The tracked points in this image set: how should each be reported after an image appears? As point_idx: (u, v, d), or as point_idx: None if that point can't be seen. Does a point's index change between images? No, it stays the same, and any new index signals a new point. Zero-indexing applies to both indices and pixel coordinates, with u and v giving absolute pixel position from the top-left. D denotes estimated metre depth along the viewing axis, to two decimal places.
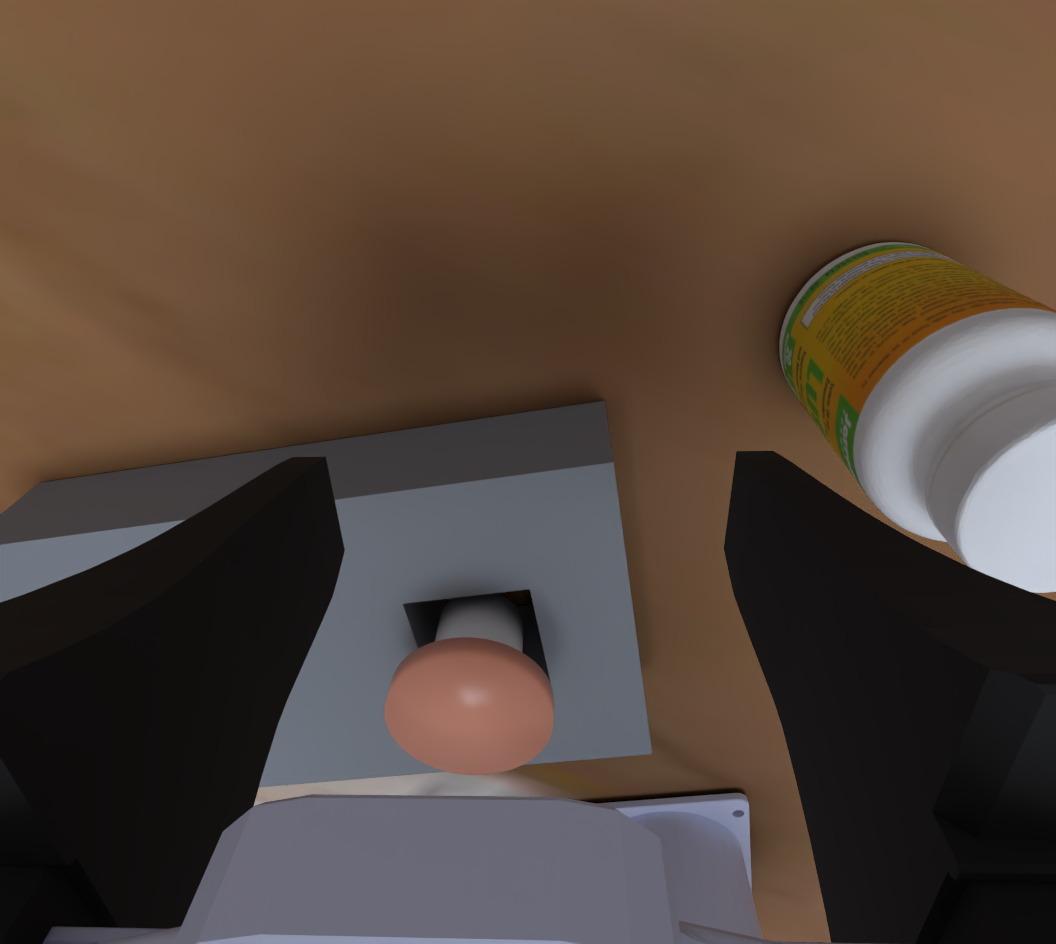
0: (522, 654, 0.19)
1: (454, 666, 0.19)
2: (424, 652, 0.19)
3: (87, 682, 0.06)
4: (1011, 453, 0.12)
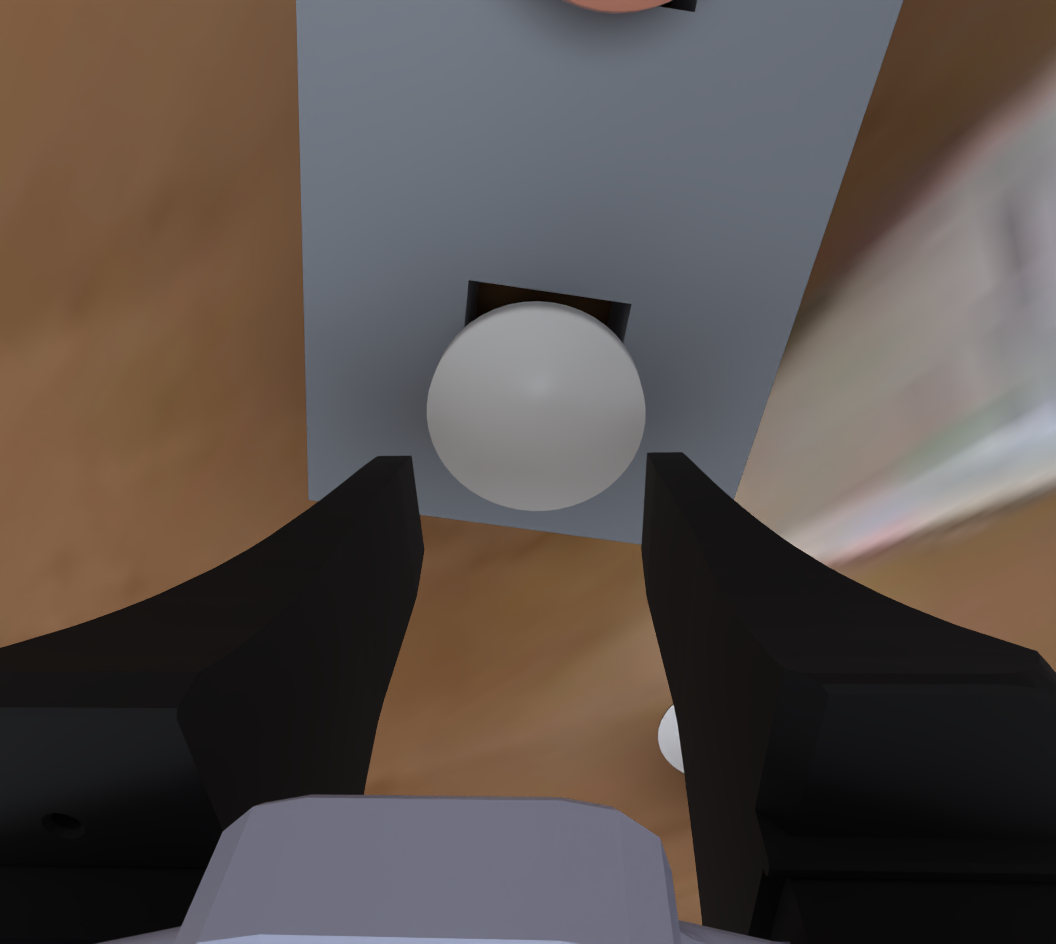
0: None
1: None
2: None
3: (250, 683, 0.06)
4: None
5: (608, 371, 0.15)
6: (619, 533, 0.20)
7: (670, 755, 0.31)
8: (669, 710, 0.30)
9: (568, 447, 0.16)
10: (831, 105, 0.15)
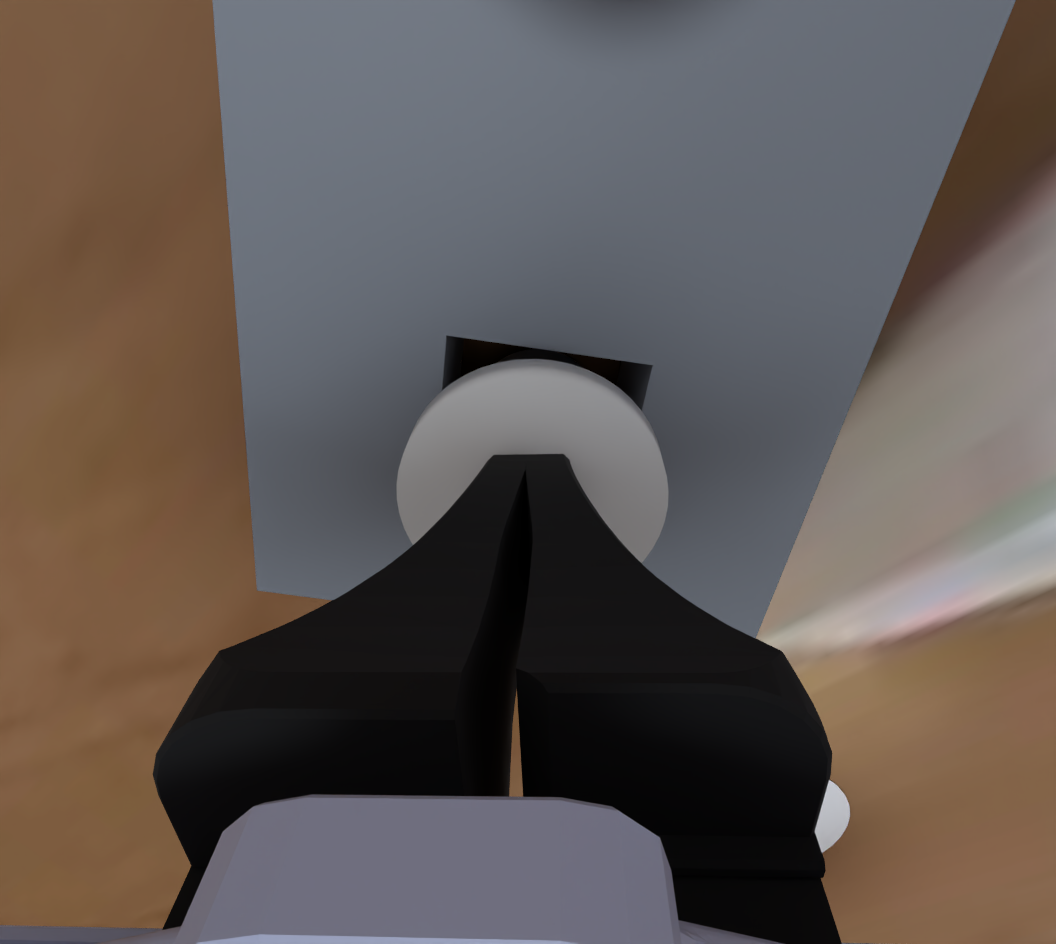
0: None
1: None
2: None
3: (474, 684, 0.06)
4: None
5: (622, 447, 0.12)
6: None
7: None
8: None
9: None
10: (920, 116, 0.11)
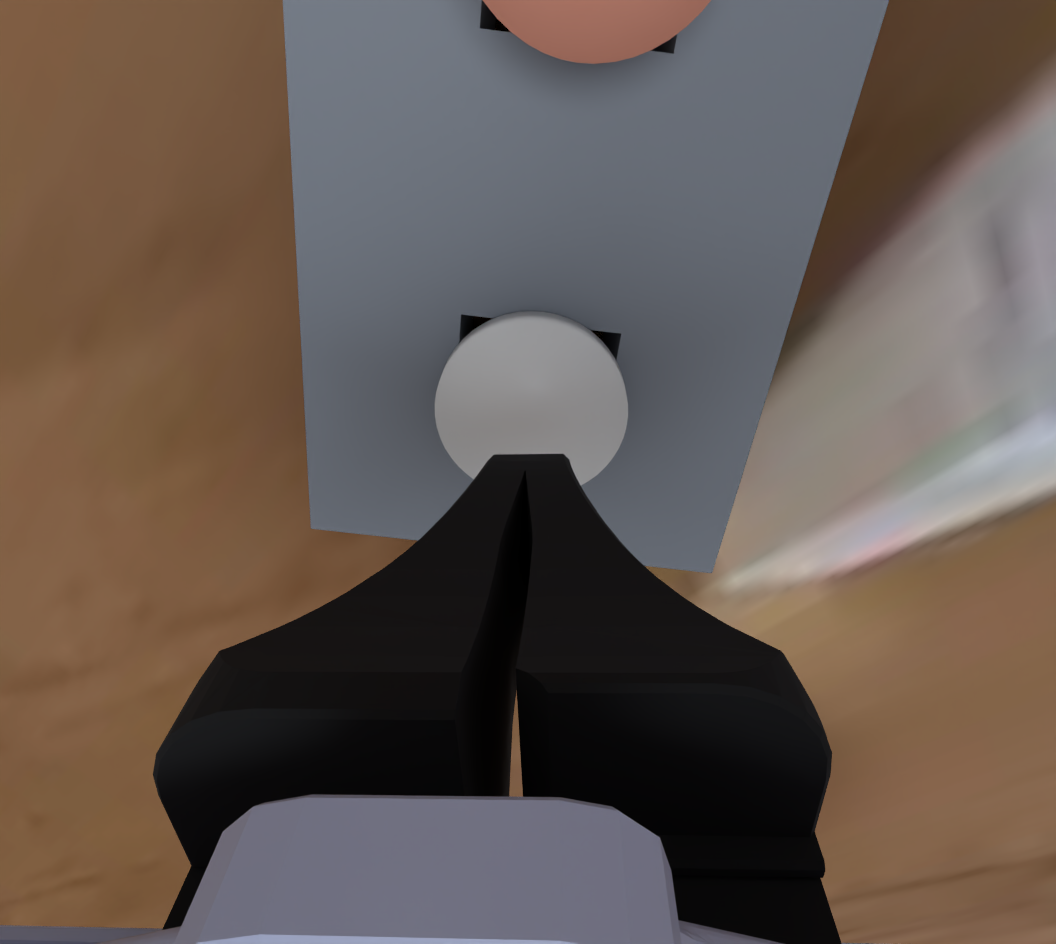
0: None
1: None
2: None
3: (474, 683, 0.06)
4: None
5: (593, 371, 0.17)
6: None
7: None
8: None
9: (560, 439, 0.18)
10: (811, 139, 0.15)
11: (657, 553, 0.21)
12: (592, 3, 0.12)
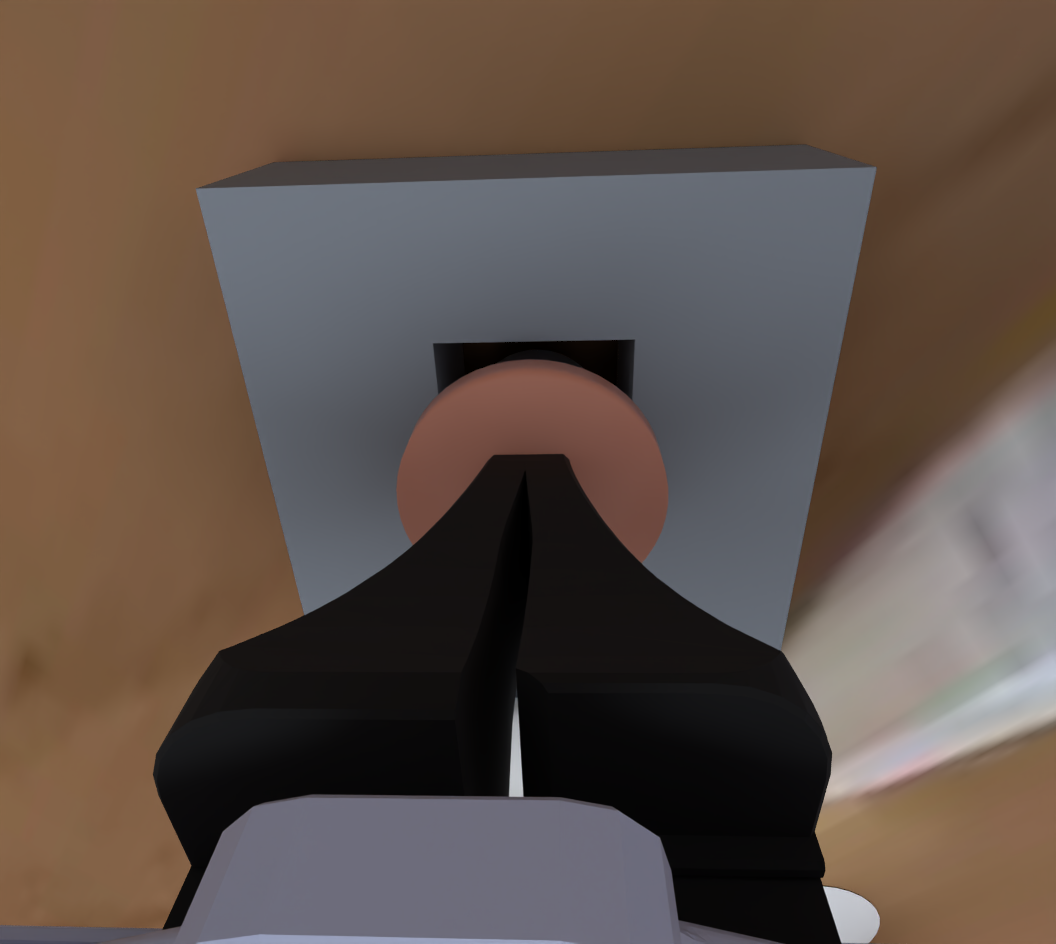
0: (439, 394, 0.12)
1: (413, 501, 0.12)
2: None
3: (474, 684, 0.06)
4: None
5: None
6: None
7: None
8: None
9: None
10: (767, 553, 0.16)
11: None
12: None
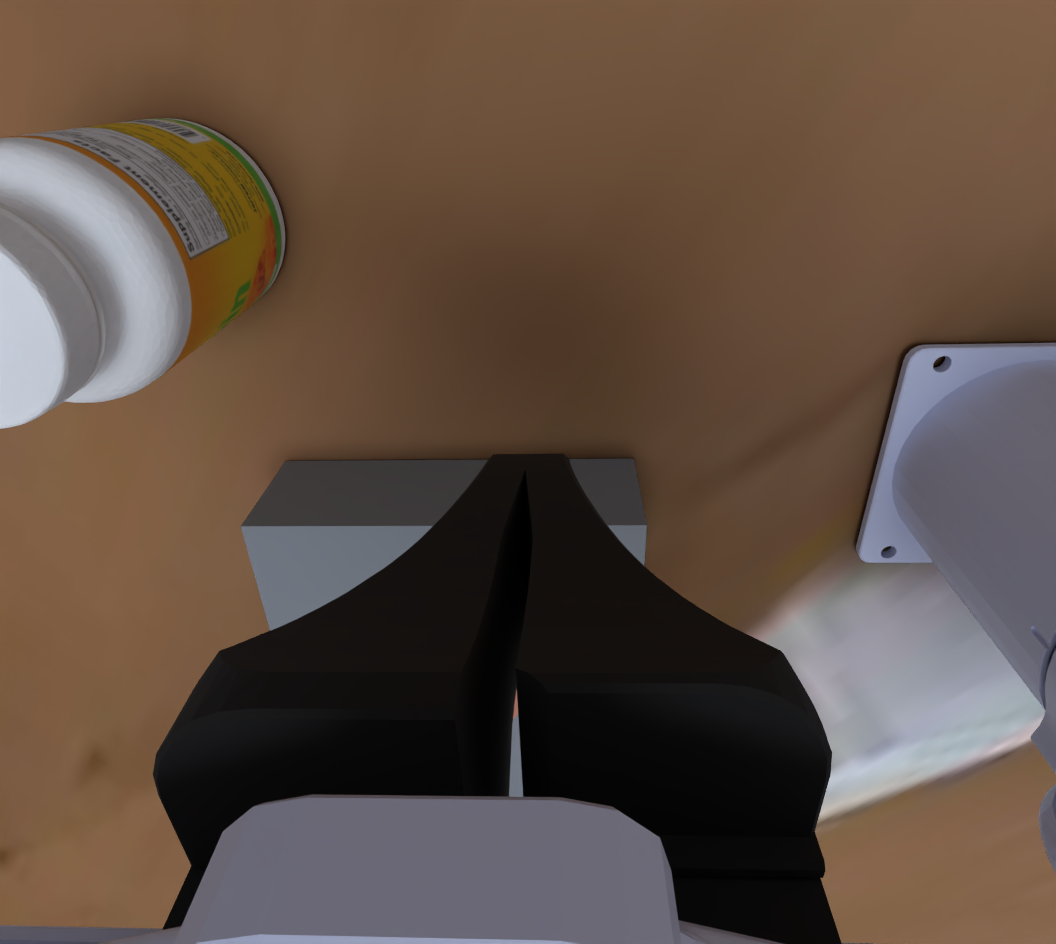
0: None
1: None
2: None
3: (474, 684, 0.06)
4: None
5: None
6: None
7: None
8: None
9: None
10: None
11: None
12: None
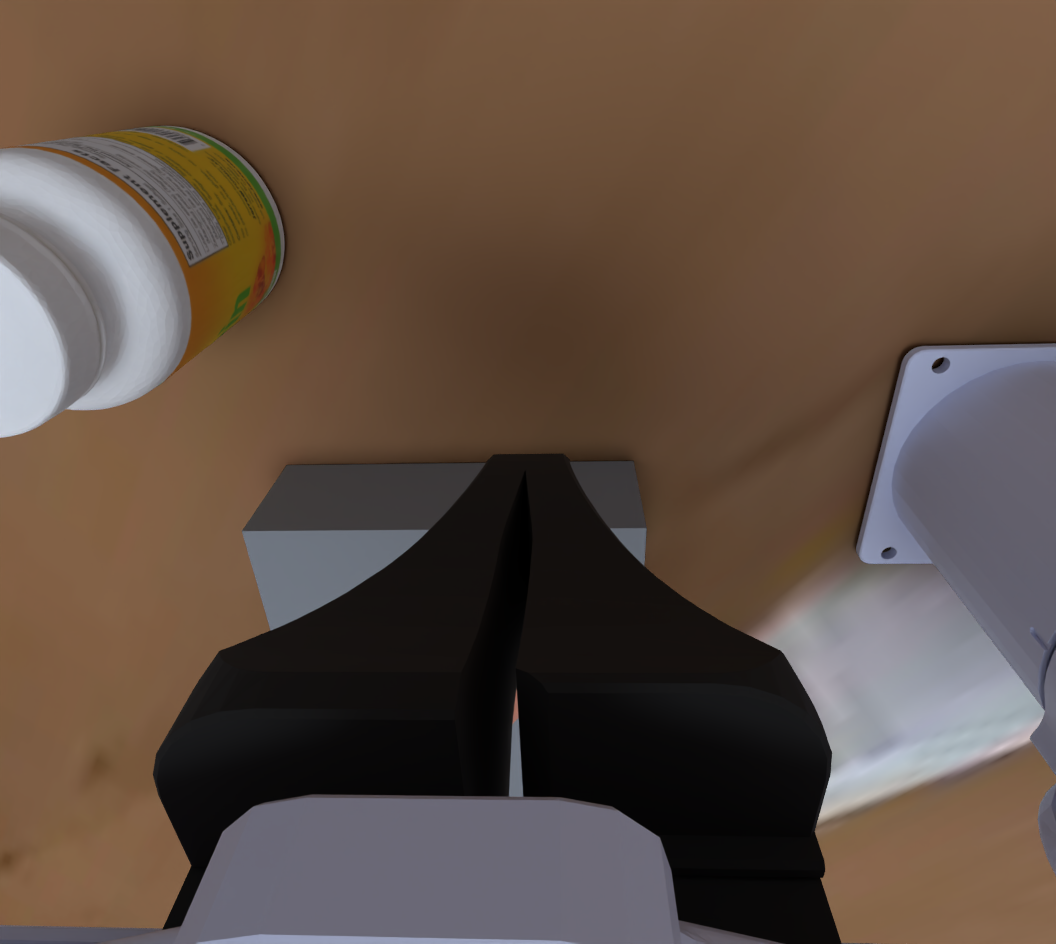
0: None
1: None
2: None
3: (474, 683, 0.06)
4: None
5: None
6: None
7: None
8: None
9: None
10: None
11: None
12: None
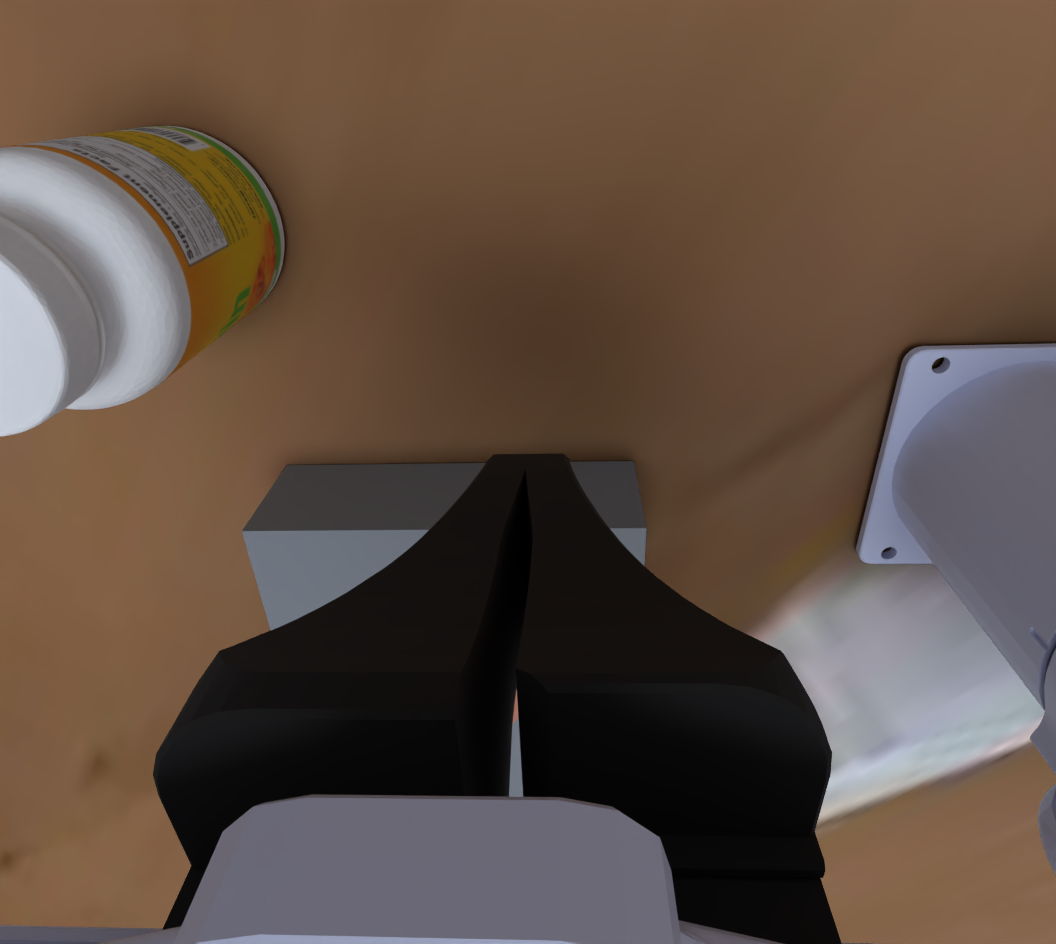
0: None
1: None
2: None
3: (474, 683, 0.06)
4: None
5: None
6: None
7: None
8: None
9: None
10: None
11: None
12: None
